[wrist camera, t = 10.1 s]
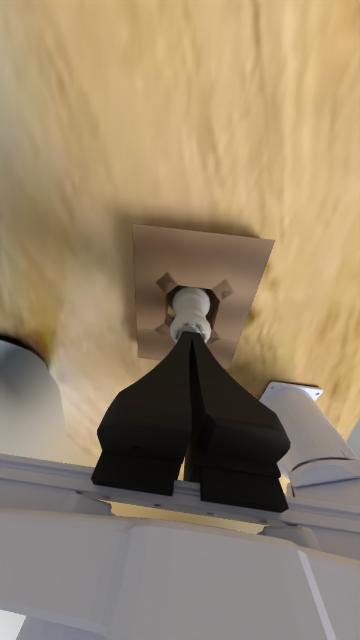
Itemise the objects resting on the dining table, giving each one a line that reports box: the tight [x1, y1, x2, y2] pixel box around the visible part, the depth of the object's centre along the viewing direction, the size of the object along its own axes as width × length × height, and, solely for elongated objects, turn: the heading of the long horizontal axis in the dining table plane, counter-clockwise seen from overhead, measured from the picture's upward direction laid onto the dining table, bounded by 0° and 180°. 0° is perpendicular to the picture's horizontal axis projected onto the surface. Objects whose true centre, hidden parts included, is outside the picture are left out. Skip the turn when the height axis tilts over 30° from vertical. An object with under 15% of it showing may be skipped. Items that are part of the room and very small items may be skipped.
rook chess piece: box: [170, 286, 211, 344], centre depth 14 cm, size 4×4×8 cm
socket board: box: [132, 224, 275, 369], centre depth 17 cm, size 15×12×2 cm
